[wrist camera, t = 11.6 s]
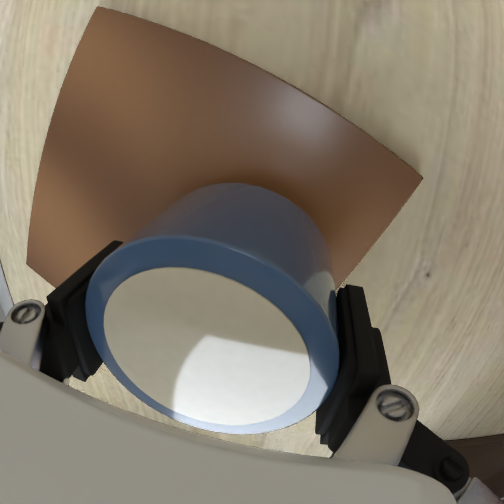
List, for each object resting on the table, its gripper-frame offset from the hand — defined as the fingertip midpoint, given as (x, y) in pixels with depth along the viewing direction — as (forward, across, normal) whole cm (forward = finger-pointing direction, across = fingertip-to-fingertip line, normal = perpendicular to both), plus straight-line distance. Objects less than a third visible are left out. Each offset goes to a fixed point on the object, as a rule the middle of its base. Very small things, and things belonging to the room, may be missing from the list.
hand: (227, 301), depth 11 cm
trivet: (+4, +4, -1) cm, 6 cm away
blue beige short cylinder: (+1, 0, 0) cm, 1 cm away
